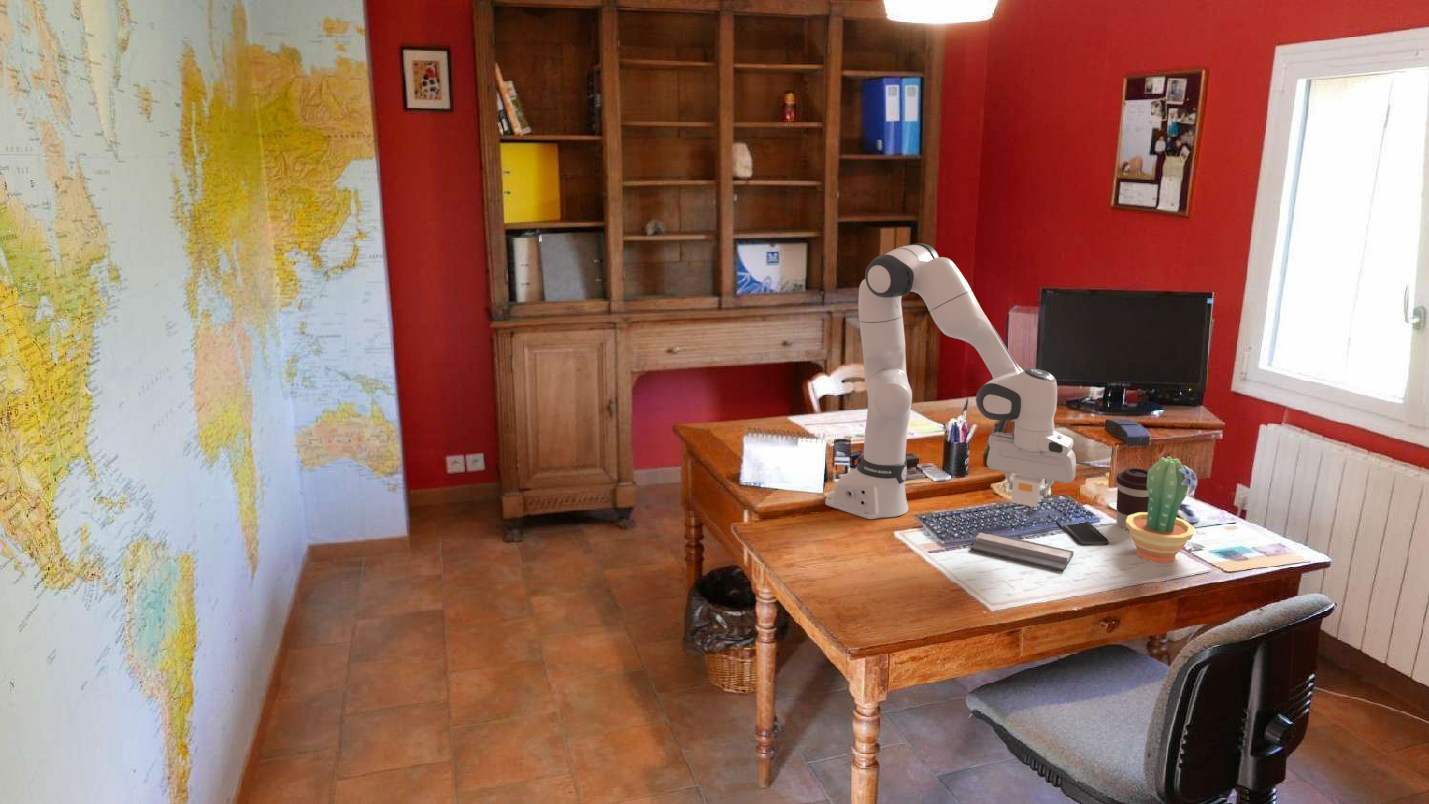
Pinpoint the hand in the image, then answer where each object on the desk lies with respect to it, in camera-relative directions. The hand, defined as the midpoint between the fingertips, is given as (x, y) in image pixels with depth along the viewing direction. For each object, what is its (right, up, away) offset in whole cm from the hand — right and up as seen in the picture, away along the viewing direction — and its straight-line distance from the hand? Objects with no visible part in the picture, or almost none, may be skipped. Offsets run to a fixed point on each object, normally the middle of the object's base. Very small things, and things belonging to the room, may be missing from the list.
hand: (1028, 492), depth 233 cm
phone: (+19, -12, +17) cm, 28 cm away
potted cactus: (+32, -16, +4) cm, 36 cm away
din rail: (0, -15, +5) cm, 16 cm away
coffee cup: (+33, -11, +20) cm, 41 cm away
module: (0, -2, +1) cm, 2 cm away
